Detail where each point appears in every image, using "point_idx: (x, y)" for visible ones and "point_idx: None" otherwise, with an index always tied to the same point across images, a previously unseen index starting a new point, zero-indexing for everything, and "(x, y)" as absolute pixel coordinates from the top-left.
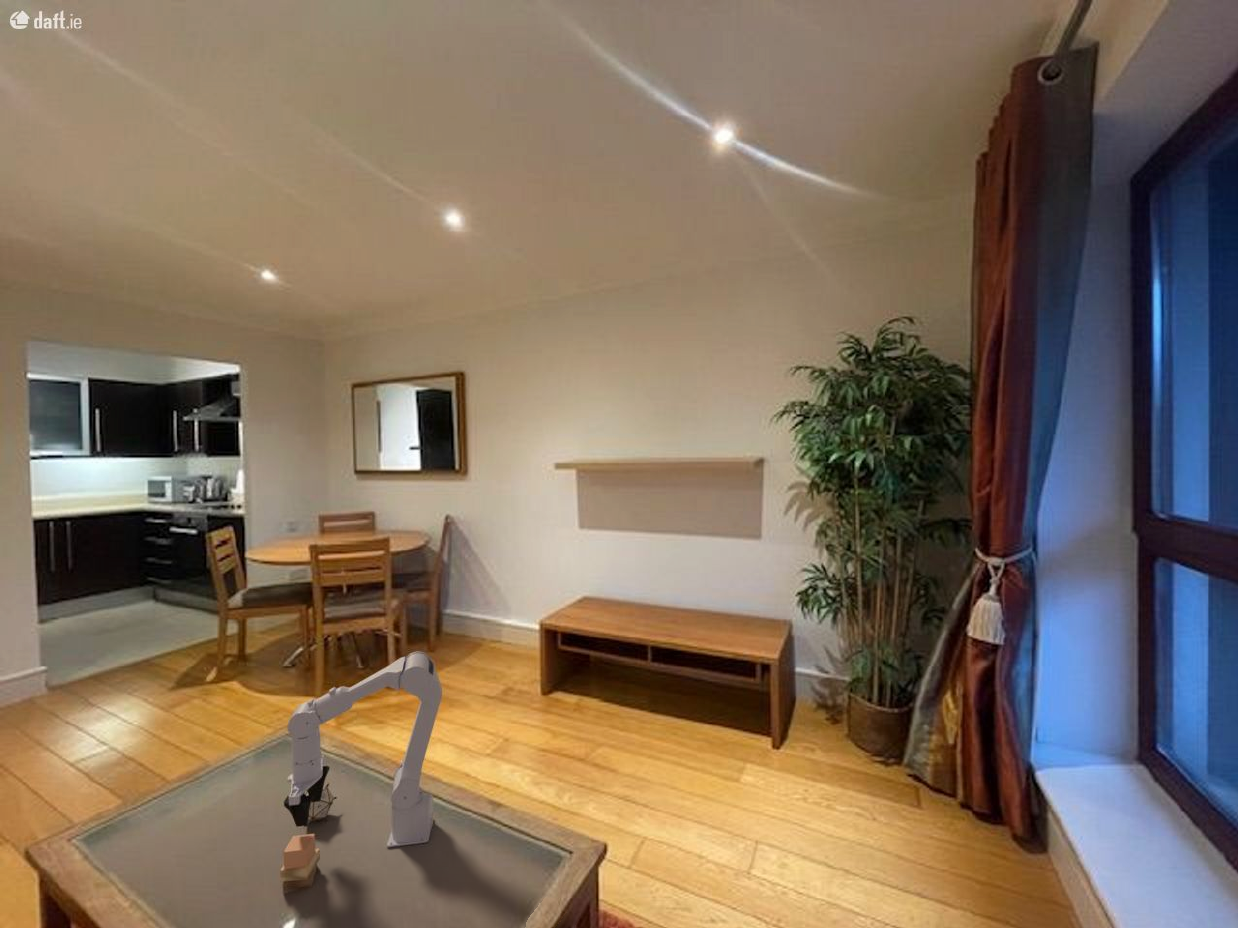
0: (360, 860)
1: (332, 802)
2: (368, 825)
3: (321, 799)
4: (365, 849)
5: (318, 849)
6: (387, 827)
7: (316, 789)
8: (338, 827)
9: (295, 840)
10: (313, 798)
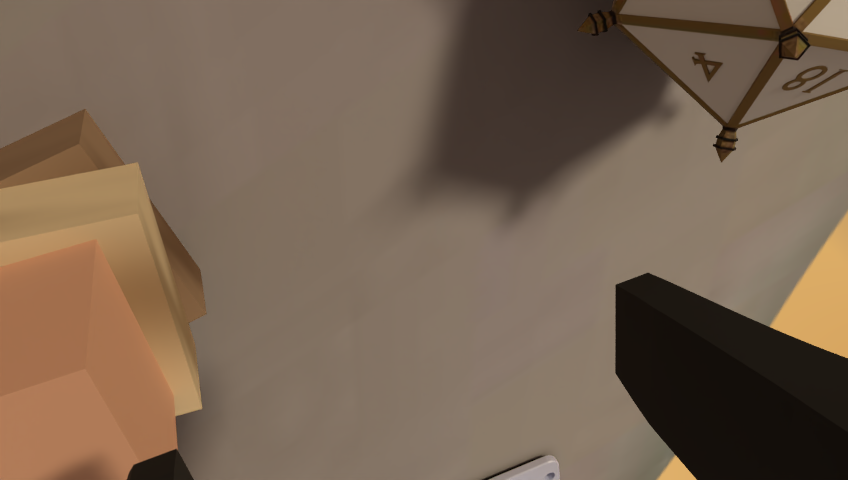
0: (284, 468)
1: (730, 151)
2: (550, 337)
3: (771, 79)
4: (366, 439)
5: (189, 406)
6: (524, 434)
7: (745, 474)
8: (554, 171)
9: (19, 445)
10: (648, 347)
